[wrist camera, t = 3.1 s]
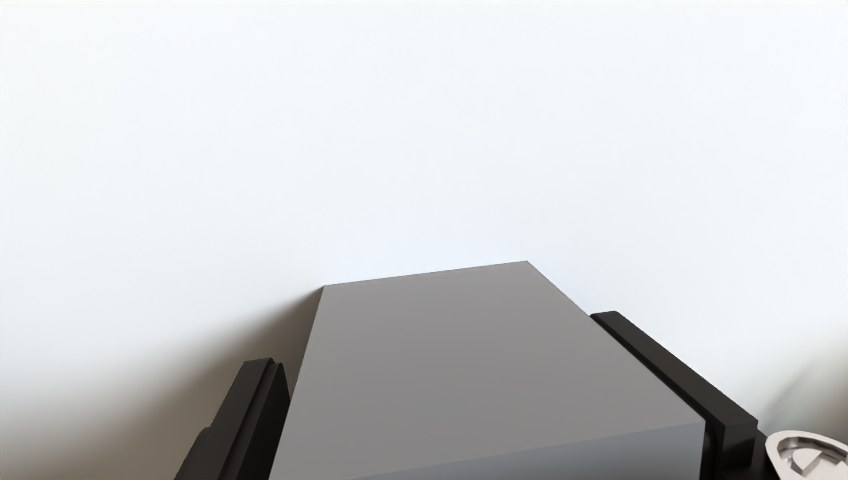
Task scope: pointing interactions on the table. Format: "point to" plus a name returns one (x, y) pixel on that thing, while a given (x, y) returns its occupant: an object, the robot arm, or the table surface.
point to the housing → (476, 388)
